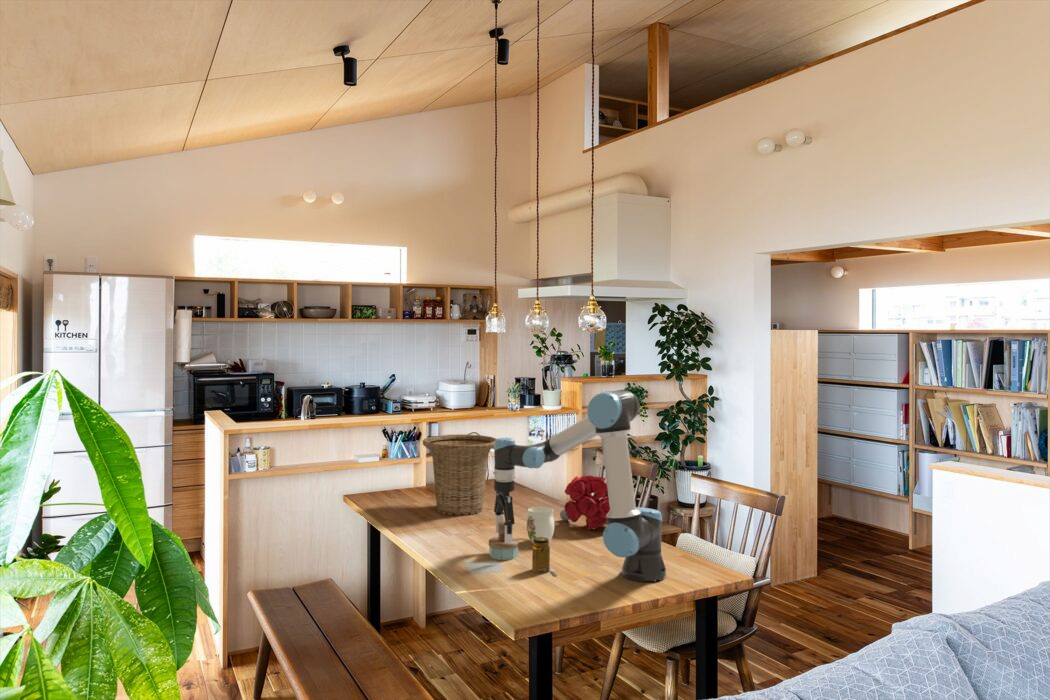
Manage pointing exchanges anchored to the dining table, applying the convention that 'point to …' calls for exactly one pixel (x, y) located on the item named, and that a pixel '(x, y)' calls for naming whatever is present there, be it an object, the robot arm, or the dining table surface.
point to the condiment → (541, 556)
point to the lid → (502, 539)
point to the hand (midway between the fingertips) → (503, 537)
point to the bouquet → (587, 501)
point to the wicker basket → (459, 471)
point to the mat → (484, 567)
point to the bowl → (503, 553)
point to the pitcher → (540, 523)
